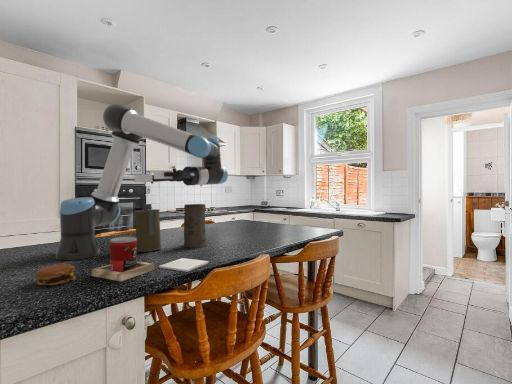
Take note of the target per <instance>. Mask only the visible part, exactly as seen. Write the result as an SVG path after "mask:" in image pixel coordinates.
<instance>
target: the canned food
mask: <svg viewBox="0 0 512 384" xmlns="http://www.w3.org/2000/svg"><path fill="white" fill-rule="evenodd" d="M109 242H110V243H109V257H110V259H109V261H110V263H109V265H110V267H111V271H115V272H121V273H122V272H125V271H128V270H131V269H135V268H137V261H138V251H137V238H136V236H120V237H113V238H111V239H110V241H109Z"/></svg>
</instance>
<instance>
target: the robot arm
mask: <svg viewBox="0 0 512 384" xmlns="http://www.w3.org/2000/svg"><path fill="white" fill-rule="evenodd" d="M102 119H103V120H102V121H103V123H104V125H105V126H106V128H108V129H109V130H110V131H112V132H111V136H112V139H113V140H112V144H111V147H110V150H109V153H108V156H107V159H106V162H105V165H104V168H103V170H102V174H101V177H100V180H99V183H98V185H97V188H96V190H95V191H93V192H91V194H90V196H84V197H83V196H82V197H74V198H68V199H63V200H62V201H61V203H60V207H59V208H60V210H59V214H60V215H59V217H60V221H59V222H60V223H59V224H60V239H59V241H58V245H57V248H56V251H55V259H56V260H60V261H75V260H81V259H88V258H93V257H97V256H99V255H100V252H101V249H100V246H99V244H98V243H99V242H98V241H97V238H96V236H95V235H96V234H95V233H96V232H95V227H100V226H101V227H102V226H107V225H109V224H112V223H114V222H116V221H117V219H118V218H119V216H120V214H121V207H120V204H119V202H120V199H119V197H118V195H119V191H120V189H121V185H122V182H123V181H124V176H125V175H126V171H127V168H128V166H129V162H130V160H131V156H132V154H133V151H134V148H135V147H137V146H139V144H140V141H141V139H143V138H144V139H147V140H151V141H153V142H156V143H158V144H162V145H164V146H167V147H170V148H172V149H175V150H178V151H181V152H183V153H187V154H189V155H192V156H193V157H196V158H200V159H202V162H203V163H202V164H203V166H199V165H198V166H197V165H196V166H194V165H193V166H189V165H188V166H185V167H183V168H182V169H177V168H172V170H152V171H153V174H134V175H133V176H134V183H150V184H152V185H153V184H154V183H158V182H170V183H172V182H180V183H181V182H182V183H183V184H184V185H185V186H200V187H203V186H204V185H219V184H224V183H225V182H226V181H227V180H228V177H229V176H228V175H229V173H228V171H227V169H226V167H224V166H222V161H221V160H222V158H221V144H220V140H219V138H216V137H203V136H201V135H195V134H192V133H190V132H187V131H185V130H181V129H179V128H176V127H174V126H171V125H168V124H166V123H162V122H159V121H156V120H153V119H150V118H148V117H145V116H144V115H143V114H142V113H141V112H139V111H138V110H137V111H136V110H134V109H132V108H130V107H128V106H127V105H124V104H119V103H113V104H111V105H108V106H107V107H106V108H105V109H104V111H103V114H102Z"/></svg>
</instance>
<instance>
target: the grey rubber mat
mask: <svg viewBox="0 0 512 384" xmlns="http://www.w3.org/2000/svg"><path fill="white" fill-rule="evenodd" d="M207 264H209V260H201V259H200V260H199V259H193V258H184V257H181V258H178V259H176V260H173V261H169V262H167V263H163V264H160V265H158V268H160V269H166V270H173V271H179V272H186V273H187V272H190V271H193V270H195V269H197V268H200V267H203V266H204V265H207Z"/></svg>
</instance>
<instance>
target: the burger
mask: <svg viewBox="0 0 512 384" xmlns="http://www.w3.org/2000/svg"><path fill="white" fill-rule="evenodd" d="M75 270H76V267H75V266H74V265H71V264H64V263H63V264H54V265H49V266H46V267H42V268H41V269H39V270H37V272H36V274H35V278H36V279H37V281H36V285H38V286H58V285H61V284H65V283H69V282H70V281H75V280H76V276H75V273H74V271H75Z"/></svg>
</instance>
